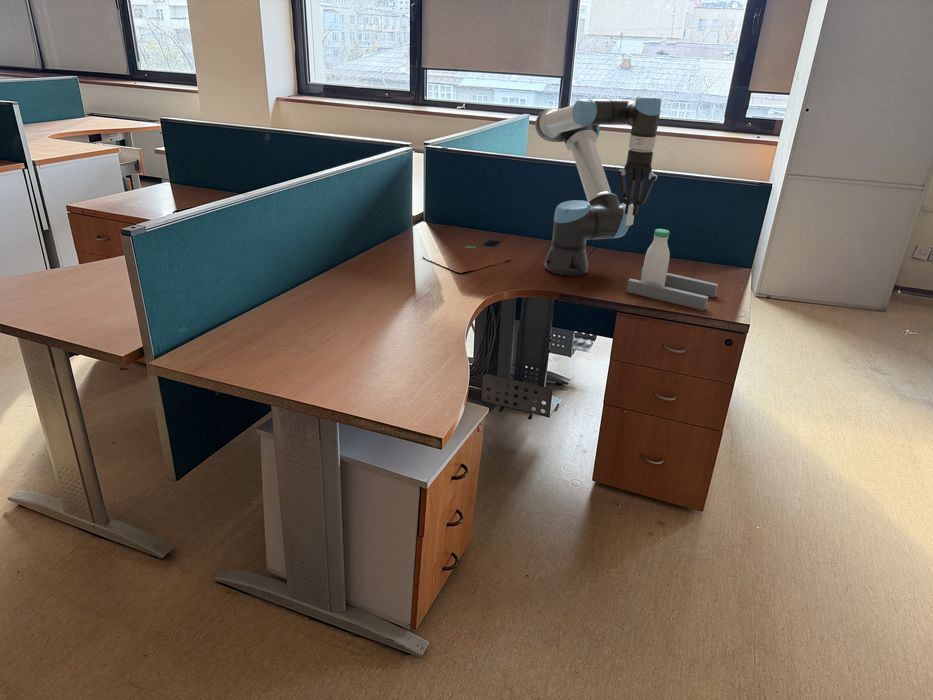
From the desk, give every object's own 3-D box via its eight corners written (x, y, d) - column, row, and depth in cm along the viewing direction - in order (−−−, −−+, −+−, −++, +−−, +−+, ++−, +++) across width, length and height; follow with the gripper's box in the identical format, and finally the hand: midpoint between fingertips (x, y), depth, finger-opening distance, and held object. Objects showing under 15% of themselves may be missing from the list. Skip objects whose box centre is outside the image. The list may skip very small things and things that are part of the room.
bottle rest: (626, 291, 212) (628, 280, 210) (641, 278, 224) (643, 267, 222) (704, 310, 201) (706, 298, 199) (715, 295, 212) (718, 284, 210)
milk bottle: (664, 294, 211) (675, 235, 202) (640, 292, 212) (650, 232, 203) (662, 286, 218) (673, 228, 209) (639, 283, 219) (649, 225, 210)
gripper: (616, 148, 200) (606, 223, 211) (658, 154, 194) (645, 231, 205) (624, 145, 206) (614, 218, 217) (665, 150, 200) (652, 225, 211)
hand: (629, 224), depth 211 cm, fingers closed
